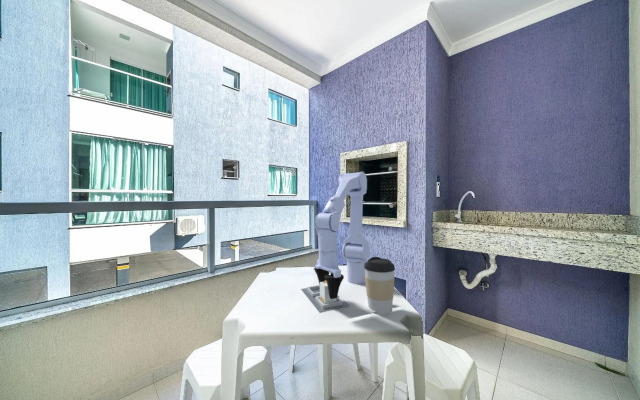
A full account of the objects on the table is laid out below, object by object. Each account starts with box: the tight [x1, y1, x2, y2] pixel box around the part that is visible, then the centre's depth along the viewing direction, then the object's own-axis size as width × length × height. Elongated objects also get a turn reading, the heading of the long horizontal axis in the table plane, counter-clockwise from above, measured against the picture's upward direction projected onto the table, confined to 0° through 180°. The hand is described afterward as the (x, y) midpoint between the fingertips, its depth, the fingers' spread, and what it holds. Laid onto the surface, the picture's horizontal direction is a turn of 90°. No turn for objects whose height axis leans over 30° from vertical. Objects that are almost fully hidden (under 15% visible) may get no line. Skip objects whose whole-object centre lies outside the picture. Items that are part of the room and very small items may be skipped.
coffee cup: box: [364, 256, 396, 316], centre depth 67 cm, size 9×9×15 cm
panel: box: [300, 284, 351, 314], centre depth 74 cm, size 10×19×2 cm, turn 22°
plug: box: [320, 280, 337, 304], centre depth 70 cm, size 4×4×7 cm
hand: (328, 293), depth 70 cm, fingers open, 7 cm apart
